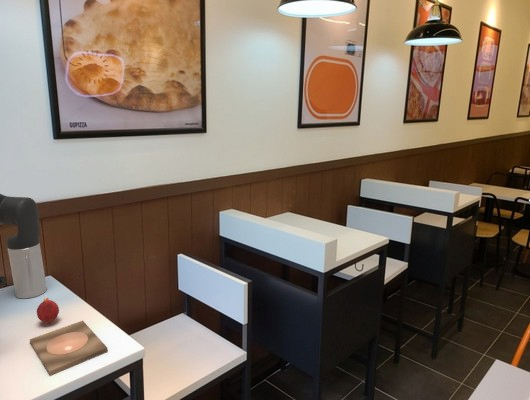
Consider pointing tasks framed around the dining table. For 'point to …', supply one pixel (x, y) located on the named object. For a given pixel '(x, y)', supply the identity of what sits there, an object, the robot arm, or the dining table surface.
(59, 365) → the serving board
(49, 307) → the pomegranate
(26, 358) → the dining table surface
